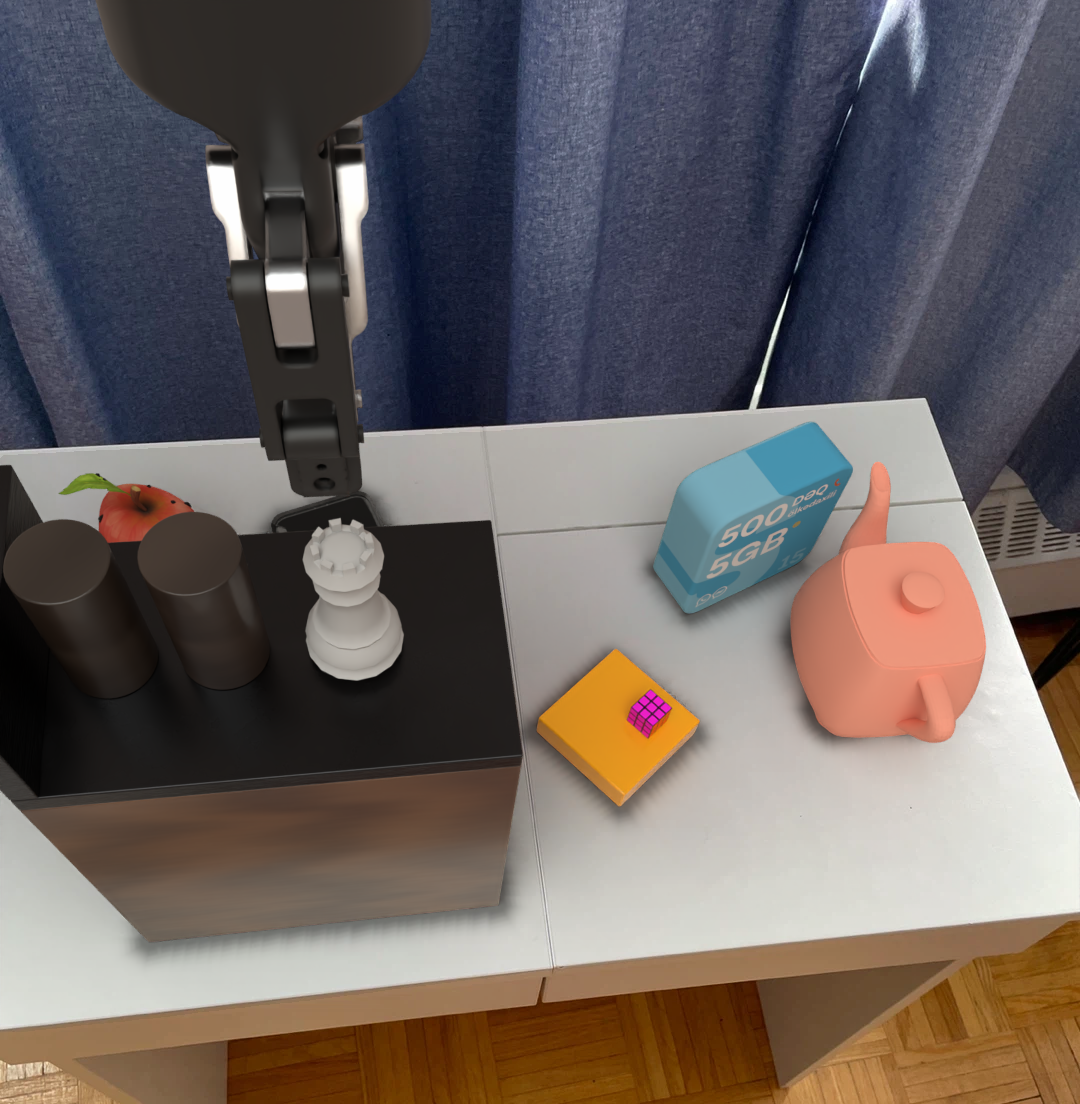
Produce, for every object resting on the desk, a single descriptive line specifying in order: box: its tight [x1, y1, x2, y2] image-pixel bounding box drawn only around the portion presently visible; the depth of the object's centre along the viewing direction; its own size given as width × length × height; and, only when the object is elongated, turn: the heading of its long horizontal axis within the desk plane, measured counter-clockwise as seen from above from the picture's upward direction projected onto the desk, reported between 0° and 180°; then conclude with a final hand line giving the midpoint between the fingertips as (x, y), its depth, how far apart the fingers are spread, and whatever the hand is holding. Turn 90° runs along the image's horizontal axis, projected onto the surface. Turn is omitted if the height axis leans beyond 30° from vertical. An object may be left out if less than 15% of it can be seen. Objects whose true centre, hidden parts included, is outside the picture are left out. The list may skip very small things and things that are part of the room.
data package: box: [653, 421, 854, 614], centre depth 78 cm, size 12×4×12 cm, turn 120°
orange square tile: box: [536, 648, 701, 807], centre depth 75 cm, size 8×8×4 cm
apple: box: [57, 472, 196, 543], centre depth 75 cm, size 8×7×10 cm
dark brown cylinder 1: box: [3, 518, 158, 699], centre depth 46 cm, size 4×4×8 cm
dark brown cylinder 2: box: [137, 511, 270, 690], centre depth 46 cm, size 4×4×8 cm
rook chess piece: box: [303, 518, 404, 680], centre depth 47 cm, size 4×4×8 cm
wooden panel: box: [19, 765, 522, 943], centre depth 62 cm, size 22×13×23 cm, turn 97°
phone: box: [270, 490, 385, 533], centre depth 79 cm, size 8×1×15 cm
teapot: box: [789, 461, 987, 744], centre depth 75 cm, size 20×12×12 cm, turn 8°
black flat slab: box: [0, 464, 524, 811], centre depth 48 cm, size 22×13×7 cm, turn 97°
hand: (323, 383), depth 36 cm, fingers open, 8 cm apart
